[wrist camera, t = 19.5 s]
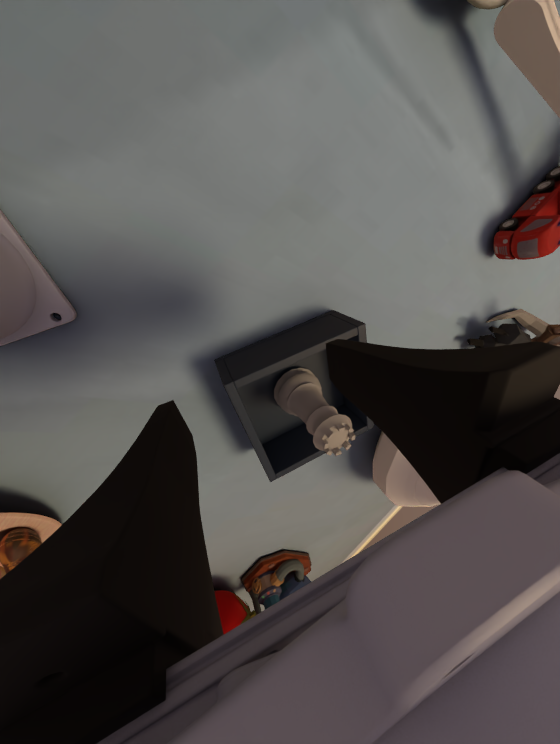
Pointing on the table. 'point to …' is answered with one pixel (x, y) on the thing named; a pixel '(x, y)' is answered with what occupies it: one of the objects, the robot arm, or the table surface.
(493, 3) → the saucer
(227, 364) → the bin
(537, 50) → the knife
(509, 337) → the toy
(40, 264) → the robot arm
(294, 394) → the rook chess piece
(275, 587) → the model
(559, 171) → the toy fire truck
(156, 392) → the table surface
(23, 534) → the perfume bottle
